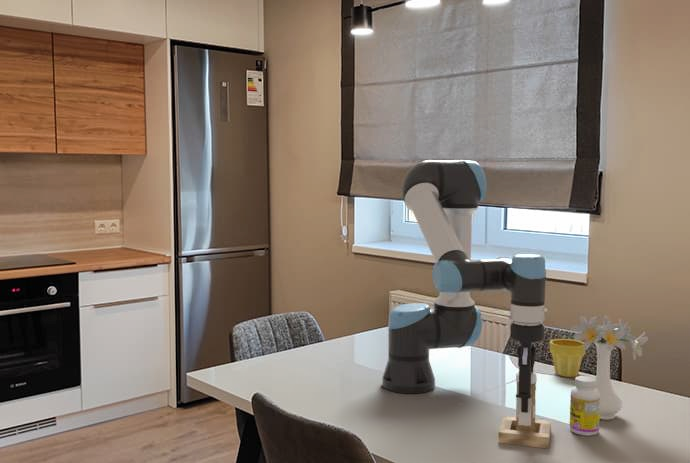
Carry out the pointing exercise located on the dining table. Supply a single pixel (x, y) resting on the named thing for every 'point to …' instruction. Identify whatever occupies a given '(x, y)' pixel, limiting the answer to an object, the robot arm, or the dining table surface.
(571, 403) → the supplement bottle
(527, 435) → the socket block
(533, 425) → the sprinkles bottle
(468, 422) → the dining table surface
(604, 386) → the flower vase
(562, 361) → the plant pot
